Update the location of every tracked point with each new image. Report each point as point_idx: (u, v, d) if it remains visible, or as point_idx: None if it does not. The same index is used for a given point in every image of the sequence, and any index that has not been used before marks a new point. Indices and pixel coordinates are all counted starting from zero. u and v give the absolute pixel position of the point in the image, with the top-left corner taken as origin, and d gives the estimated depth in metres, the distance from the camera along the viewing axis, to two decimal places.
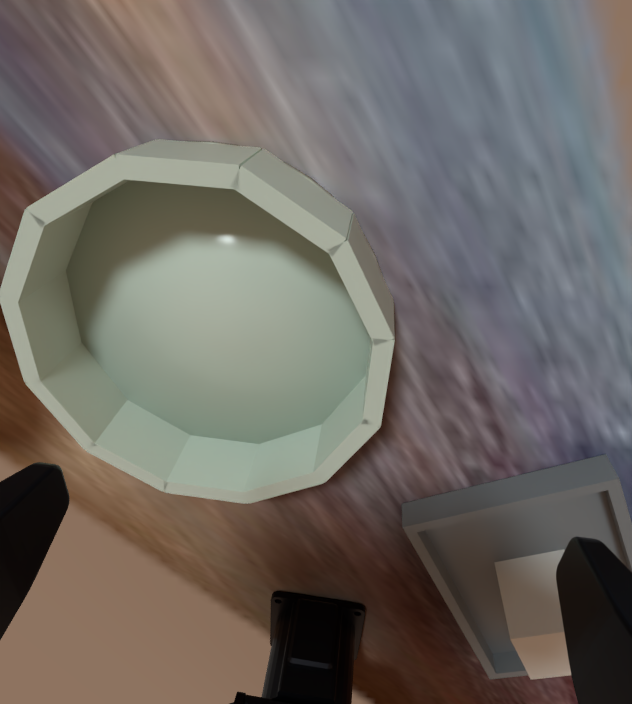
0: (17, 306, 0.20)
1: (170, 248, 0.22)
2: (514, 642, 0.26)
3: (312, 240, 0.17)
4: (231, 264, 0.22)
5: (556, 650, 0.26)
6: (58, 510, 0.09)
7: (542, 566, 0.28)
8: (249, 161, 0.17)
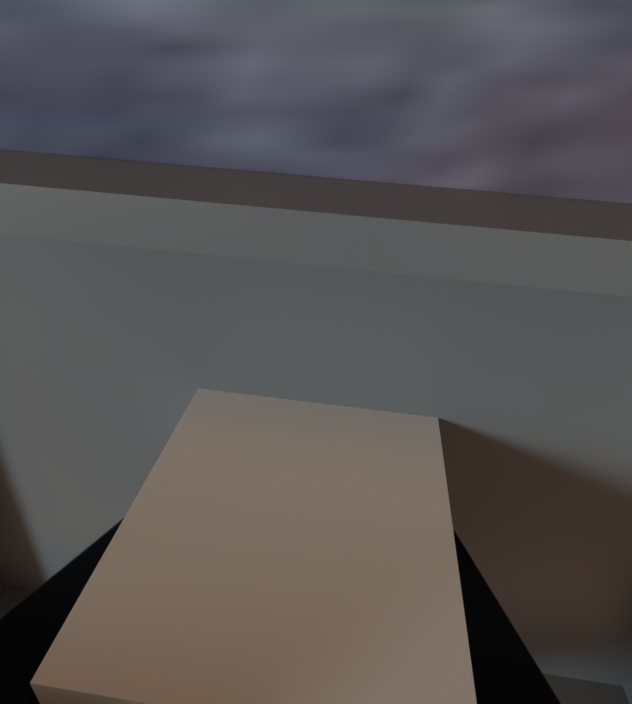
0: None
1: None
2: None
3: None
4: None
5: None
6: None
7: None
8: None
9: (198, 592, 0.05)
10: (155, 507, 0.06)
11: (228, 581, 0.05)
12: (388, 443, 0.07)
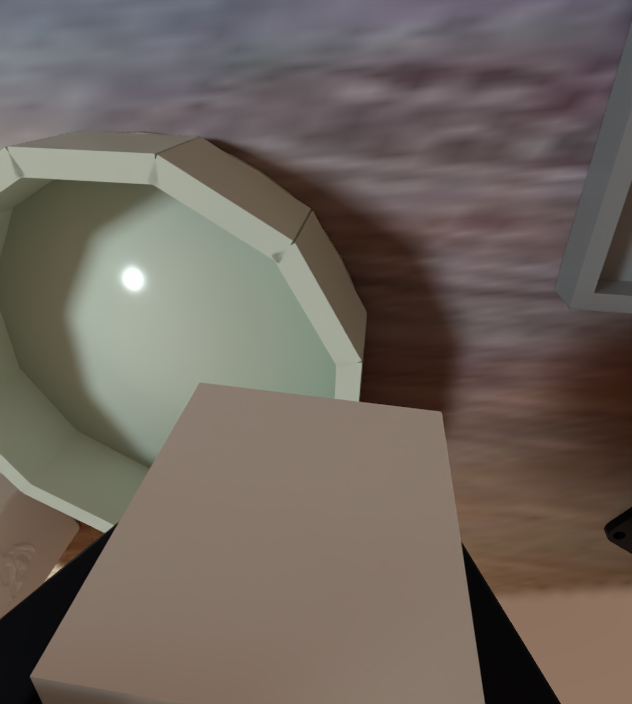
0: (34, 487, 0.21)
1: (76, 335, 0.21)
2: None
3: (2, 187, 0.14)
4: (105, 291, 0.20)
5: None
6: None
7: None
8: None
9: (200, 585, 0.05)
10: (157, 500, 0.06)
11: (231, 575, 0.05)
12: (392, 437, 0.07)
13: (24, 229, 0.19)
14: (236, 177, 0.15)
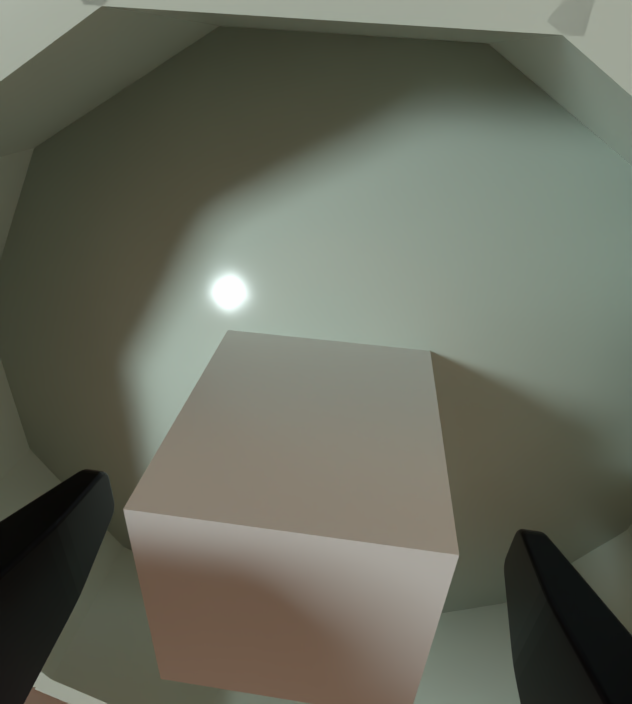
0: (57, 683, 0.11)
1: (141, 401, 0.11)
2: (179, 678, 0.08)
3: (36, 44, 0.04)
4: (212, 326, 0.10)
5: (251, 626, 0.07)
6: (105, 517, 0.09)
7: None
8: None
9: (241, 459, 0.07)
10: (202, 408, 0.08)
11: (265, 453, 0.07)
12: (388, 368, 0.09)
13: (56, 196, 0.09)
14: None
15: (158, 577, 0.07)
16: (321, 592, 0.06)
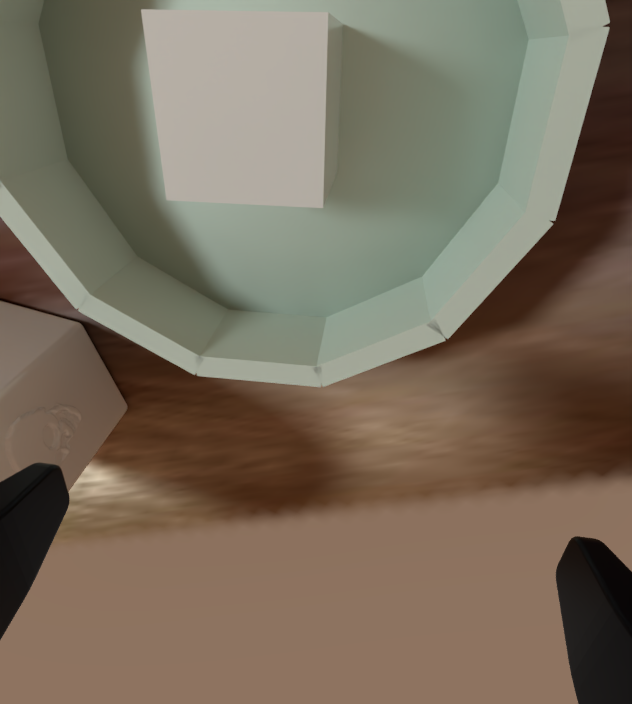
0: (94, 299, 0.16)
1: (148, 99, 0.16)
2: (178, 195, 0.12)
3: None
4: None
5: (219, 119, 0.11)
6: (58, 510, 0.09)
7: None
8: None
9: None
10: None
11: None
12: None
13: None
14: None
15: (162, 78, 0.11)
16: (257, 70, 0.11)
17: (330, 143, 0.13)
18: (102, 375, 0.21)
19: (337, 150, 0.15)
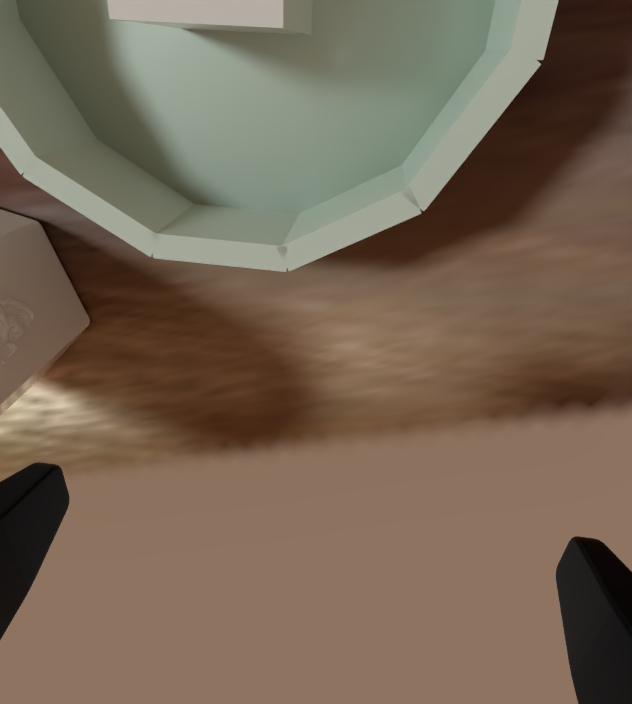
0: (40, 162, 0.14)
1: None
2: (122, 13, 0.11)
3: None
4: None
5: None
6: (58, 510, 0.09)
7: None
8: None
9: None
10: None
11: None
12: None
13: None
14: None
15: None
16: None
17: None
18: (62, 281, 0.20)
19: (310, 6, 0.14)
